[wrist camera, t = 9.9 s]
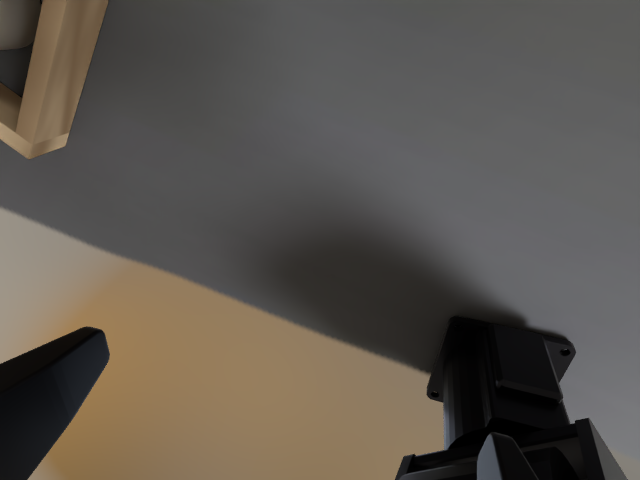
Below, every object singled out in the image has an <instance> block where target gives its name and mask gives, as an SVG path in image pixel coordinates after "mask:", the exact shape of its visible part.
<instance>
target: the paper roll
mask: <svg viewBox="0 0 640 480" xmlns="http://www.w3.org/2000/svg"><path fill="white" fill-rule="evenodd" d="M40 12H41V4H40V0H0V50H9V49H19V48H23V47H26V46H28V45H30V44H31V43H32V42H33V41H34V40H35V36H36V31H37V27H38V22H39V17H40Z"/></svg>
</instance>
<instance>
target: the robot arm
mask: <svg viewBox="0 0 640 480" xmlns="http://www.w3.org/2000/svg"><path fill="white" fill-rule="evenodd" d="M454 325H461V326H460V327H456V326H454ZM562 349H567V350H565V351H561V350H562ZM575 353H576V351H575V348H574V346H573V344H572V343H571V342H570V341H567V340H563V339H559V338H554V337H550V336H545V335H541V334H537V333H532V332H528V331H523V330H519V329H514V328H510V327H505V326H501V325H496V324H491V323H486V322H482V321H477V320H473V319H468V318H464V317H458V316H456V317H452V318H451V319H450V320H449V322H448V325H447V328H446V331H445V334H444V337H443V340H442V343H441V346H440V349H439V352H438V355H437V358H436V361H435V364H434V367H433V370H432V373H431V376H430V380H429V383H428V386H427V396H428V397H429V398H430V399H432V400H436V401H439V402H443V404H444V405H443V406H444V450H442V451H437V452H432V453H428V454H423V455H418V456H416V455H415V454H412V455H408V456H404V457H403V460H402V462H401V465H400V468H399V470H398V473H397V475H396V478H395V480H628V479H627V478H626V476H625V475H624V473H623V471H622V470H621V468H620V467H619V465H618V463H617V462H616V460H615V459H614V457H613V455H612V454H611V452H610V451H609V449H608V447H607V446H606V444H605V443H604V441H603V439H602V438H601V436H600V435H599V433H598V431H597V430H596V428H595V427H594V425H593V423H592V422H591V420H590V419H589V418H585V419H581V420H576V421H575V423H574V424H570V421H569V418H568V415H567V412H566V409H565V406H564V403H563V394H562V391H561V388H560V385H559V382H560V380H561V379H562V377H563V375H564V373H565V372H566V370H567V368H568V366H569V365H570V363H571V361H572V359H573V358H574V356H575ZM109 356H110V353H109V349H108V345H107V341H106V337H105V334H104V332H103V331H102V330H100V329H97V328H93V327H83V328H80V329H78V330H76V331H74V332H71V333H69V334H67V335H65V336H62V337H60V338H58V339H56V340H54V341H51V342H49V343H47V344H44V345H42V346H40V347H37V348H35V349H33V350H31V351H28V352H27V353H24V354H22V355H19V356H17V357H15V358H13V359H10V360H8V361H6V362H4V363H1V364H0V480H27V479H28V478H29V477H30V475H31V474H32V473H33V471H34V470H35V469H36V468H37V466H38V465H39V464H40V462H41V460H43V458H44V457H45V456H46V454H47V453H48V452H49V450H50V449H51V448H52V446H53V445H54V444H55V442H56V441H57V440H58V438H59V437H60V436H61V434H62V433H63V432H64V430H65V429H66V428H67V426H68V425H69V423H70V422H71V421H72V419H73V418H74V416H75V415H76V413H77V412H78V410H79V408H80V407H81V405H82V403H83V402H84V400H85V399H86V397H87V395H88V394H89V392H90V391H91V389H92V387H93V386H94V384H95V383H96V381H97V379H98V378H99V376H100V374H101V373H102V371H103V370H104V368H105V366H106V365H107V363H108V360H109Z"/></svg>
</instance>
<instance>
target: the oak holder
mask: <svg viewBox="0 0 640 480" xmlns="http://www.w3.org/2000/svg"><path fill="white" fill-rule="evenodd" d="M108 1H109V0H43V3H42V7H41V12H40V17H39V22H38V27H37V31H36V36H35V41H34V46H33V51H32V55H31V60H30V65H29V70H28V74H27V79H26V84H25V89H24V94H23V98H21V97H20V96H18V95H17V94H16V93H14V92H13V91H11V90H10V89H9V88H7V87H6V86H5V85H3V84H2V83H0V139H1V140H2V141H4V142H5V143H6V144H8V145H9V146H11V147H12V148H13V149H15V150H16V151H18V152H19V153H20V154H22V155H23V156H25V157H26V158H27V159H31V158H34V157H37V156H40V155H42V154H45V153H48V152H51V151H53V150H56V149H59V148H62V147H64V146H66V142H67V139H68V136H69V132H70V129H71V126H72V122H73V119H74V115H75V112H76V109H77V105H78V102H79V99H80V95H81V92H82V89H83V85H84V82H85V79H86V75H87V72H88V69H89V65H90V62H91V58H92V55H93V52H94V48H95V45H96V42H97V38H98V35H99V32H100V28H101V25H102V22H103V18H104V15H105V12H106V8H107V5H108Z"/></svg>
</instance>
